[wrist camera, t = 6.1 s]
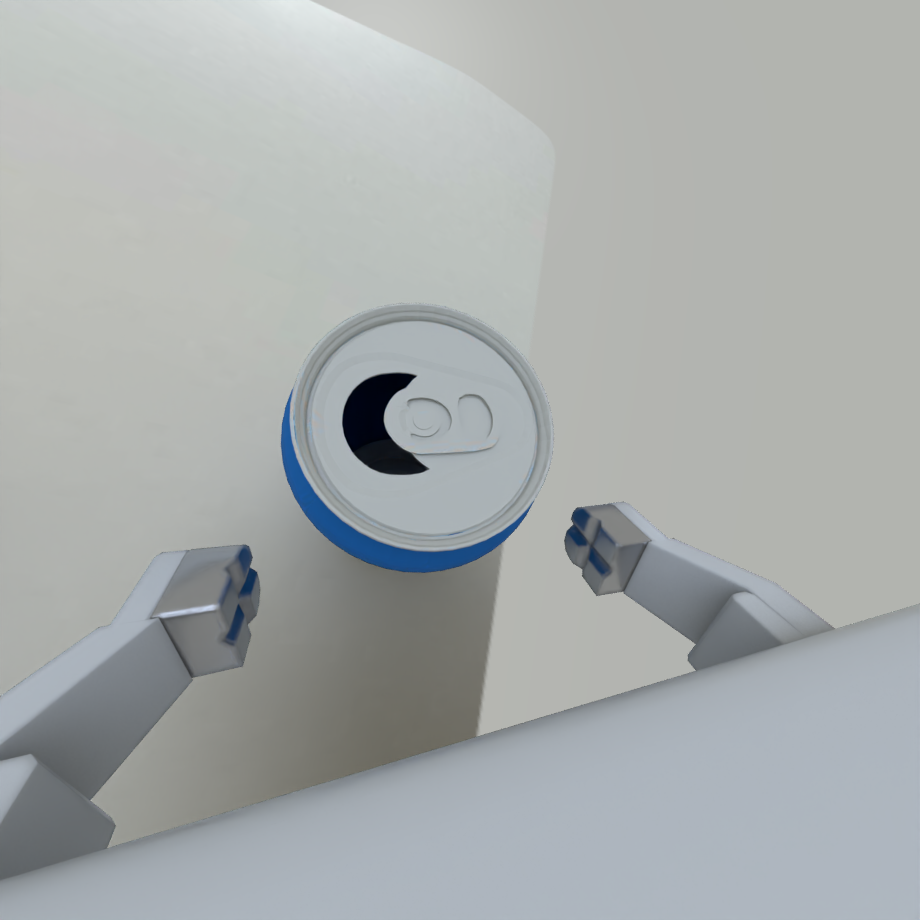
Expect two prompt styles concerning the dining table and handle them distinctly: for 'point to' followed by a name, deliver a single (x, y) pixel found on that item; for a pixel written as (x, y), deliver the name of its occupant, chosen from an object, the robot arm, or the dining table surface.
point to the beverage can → (416, 437)
